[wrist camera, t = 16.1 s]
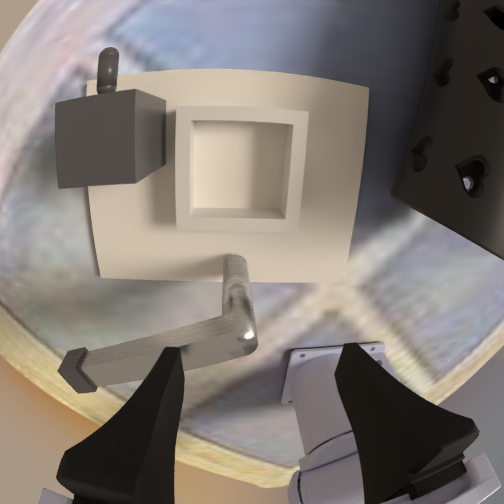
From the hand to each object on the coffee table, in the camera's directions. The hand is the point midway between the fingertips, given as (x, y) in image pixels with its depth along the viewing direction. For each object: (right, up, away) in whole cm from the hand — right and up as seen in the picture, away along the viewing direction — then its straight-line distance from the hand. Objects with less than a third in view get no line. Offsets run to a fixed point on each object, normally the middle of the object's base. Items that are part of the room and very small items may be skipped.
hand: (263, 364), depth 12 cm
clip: (-6, +2, +8) cm, 10 cm away
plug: (-8, +13, +3) cm, 15 cm away
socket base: (-2, +9, +6) cm, 11 cm away
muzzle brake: (+15, +21, +2) cm, 26 cm away
